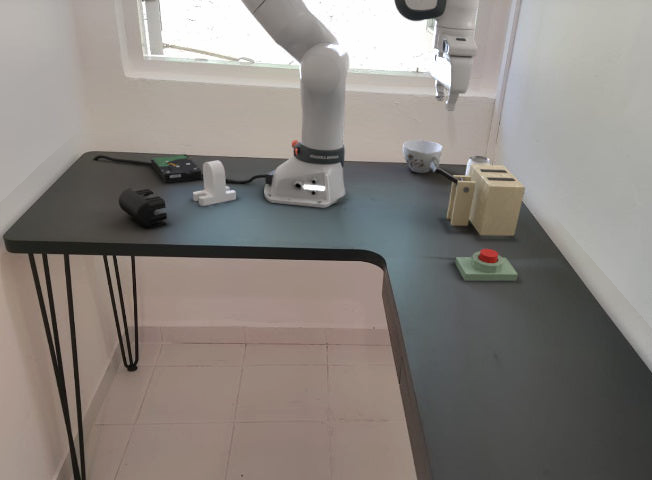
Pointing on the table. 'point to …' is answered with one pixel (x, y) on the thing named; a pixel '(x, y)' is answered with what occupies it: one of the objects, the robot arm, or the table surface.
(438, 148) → the teacup
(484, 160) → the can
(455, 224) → the lever bracket
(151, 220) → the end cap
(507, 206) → the toaster
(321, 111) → the robot arm
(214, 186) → the white mounting bracket
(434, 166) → the lever
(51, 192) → the table surface
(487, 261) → the button
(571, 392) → the table surface
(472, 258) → the green button base
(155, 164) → the disk drive
